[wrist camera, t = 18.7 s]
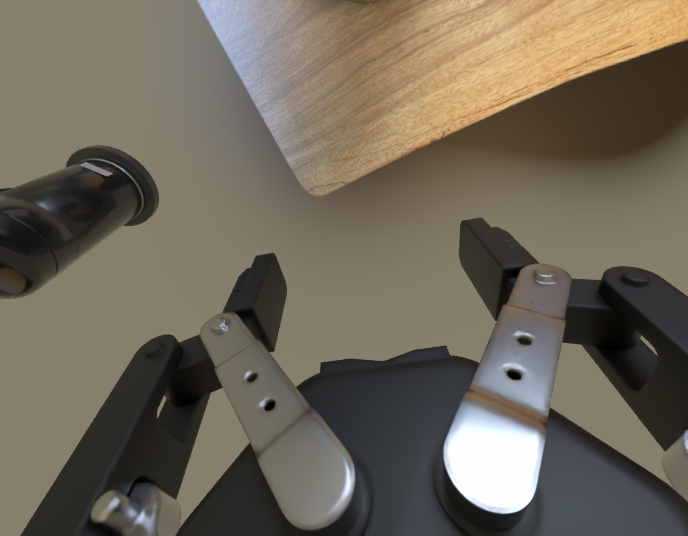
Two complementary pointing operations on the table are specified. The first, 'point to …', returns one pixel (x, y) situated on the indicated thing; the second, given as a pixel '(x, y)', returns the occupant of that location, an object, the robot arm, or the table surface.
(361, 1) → the pot
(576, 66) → the table surface
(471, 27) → the table surface
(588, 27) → the table surface
